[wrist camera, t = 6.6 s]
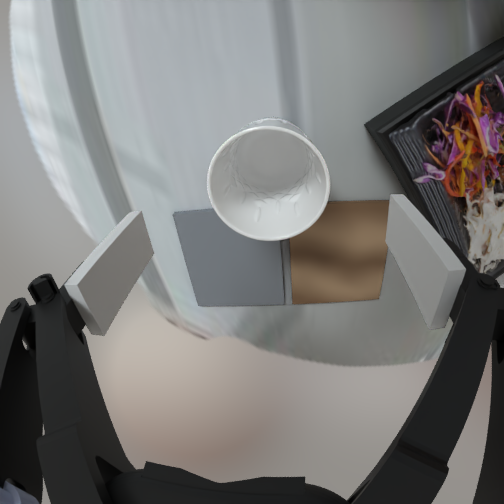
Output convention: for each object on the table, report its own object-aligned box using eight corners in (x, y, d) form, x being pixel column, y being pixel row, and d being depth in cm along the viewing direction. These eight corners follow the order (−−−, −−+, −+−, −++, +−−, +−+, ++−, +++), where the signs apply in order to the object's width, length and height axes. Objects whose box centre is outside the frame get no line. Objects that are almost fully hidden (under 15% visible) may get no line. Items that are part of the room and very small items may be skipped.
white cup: (253, 96, 24) (239, 104, 16) (329, 136, 25) (353, 166, 17) (217, 167, 28) (189, 210, 20) (288, 202, 29) (290, 258, 21)
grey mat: (174, 212, 31) (172, 214, 31) (277, 204, 30) (277, 206, 29) (199, 302, 38) (198, 305, 38) (284, 301, 37) (284, 304, 36)
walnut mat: (287, 203, 29) (287, 206, 29) (391, 200, 28) (393, 202, 27) (292, 300, 36) (292, 304, 36) (377, 295, 35) (378, 298, 34)
